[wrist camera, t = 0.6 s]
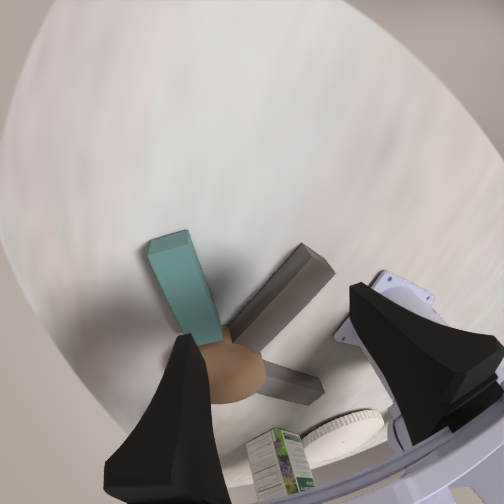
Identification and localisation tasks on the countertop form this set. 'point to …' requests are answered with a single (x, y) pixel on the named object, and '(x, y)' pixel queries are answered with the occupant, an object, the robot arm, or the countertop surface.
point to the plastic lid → (342, 435)
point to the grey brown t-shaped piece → (267, 337)
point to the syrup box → (278, 465)
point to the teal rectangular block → (185, 286)
